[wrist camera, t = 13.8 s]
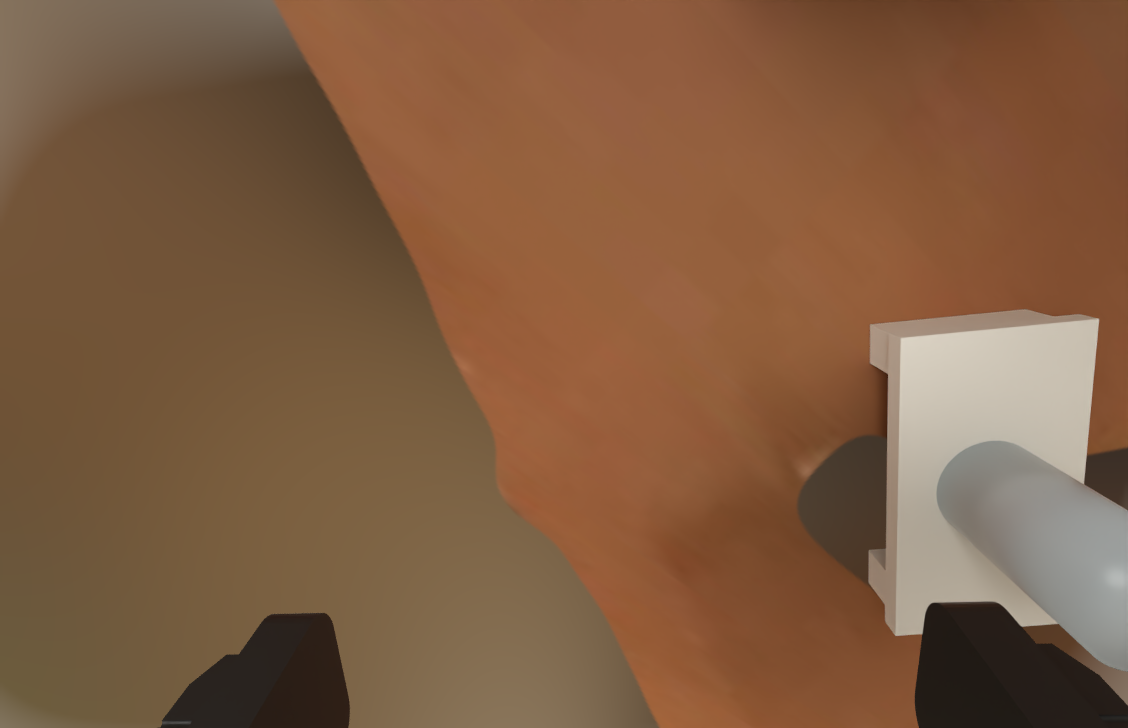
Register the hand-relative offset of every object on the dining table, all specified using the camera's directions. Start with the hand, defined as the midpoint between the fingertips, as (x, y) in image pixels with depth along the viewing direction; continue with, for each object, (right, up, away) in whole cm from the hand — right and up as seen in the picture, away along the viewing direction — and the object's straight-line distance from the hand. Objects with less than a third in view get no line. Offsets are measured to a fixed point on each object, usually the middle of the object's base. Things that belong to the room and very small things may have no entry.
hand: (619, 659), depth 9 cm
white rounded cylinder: (+23, -3, +28) cm, 36 cm away
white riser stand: (+23, -2, +32) cm, 40 cm away
